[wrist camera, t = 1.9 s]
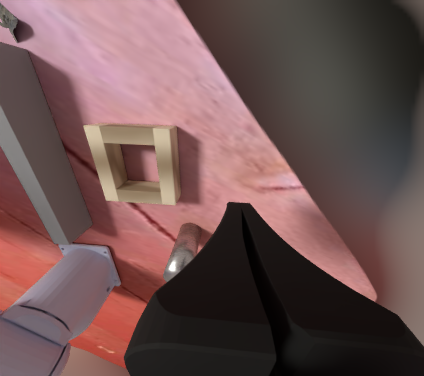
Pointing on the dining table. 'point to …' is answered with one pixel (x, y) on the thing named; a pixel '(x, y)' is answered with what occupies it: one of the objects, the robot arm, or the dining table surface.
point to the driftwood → (8, 20)
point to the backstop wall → (38, 149)
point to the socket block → (115, 169)
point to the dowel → (183, 250)
